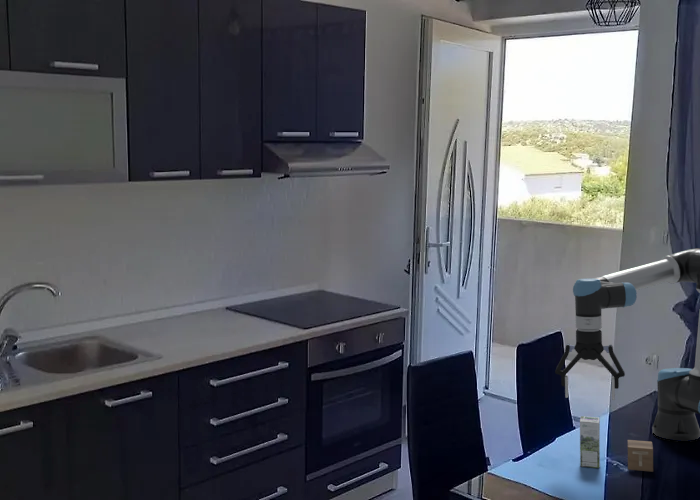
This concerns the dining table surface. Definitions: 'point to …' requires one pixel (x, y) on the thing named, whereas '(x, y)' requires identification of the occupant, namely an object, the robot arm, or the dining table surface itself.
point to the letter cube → (640, 455)
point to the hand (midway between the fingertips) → (590, 397)
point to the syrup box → (590, 442)
